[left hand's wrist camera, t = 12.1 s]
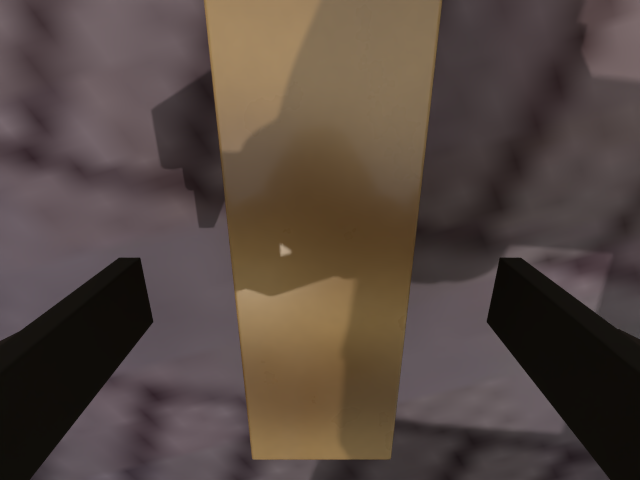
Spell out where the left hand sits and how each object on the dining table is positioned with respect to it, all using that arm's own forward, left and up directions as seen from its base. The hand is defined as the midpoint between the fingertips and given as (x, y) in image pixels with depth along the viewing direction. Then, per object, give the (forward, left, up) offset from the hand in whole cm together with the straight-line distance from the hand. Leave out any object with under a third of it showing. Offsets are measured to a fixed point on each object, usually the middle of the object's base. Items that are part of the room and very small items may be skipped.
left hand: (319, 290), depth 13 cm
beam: (+24, 0, -5) cm, 25 cm away
